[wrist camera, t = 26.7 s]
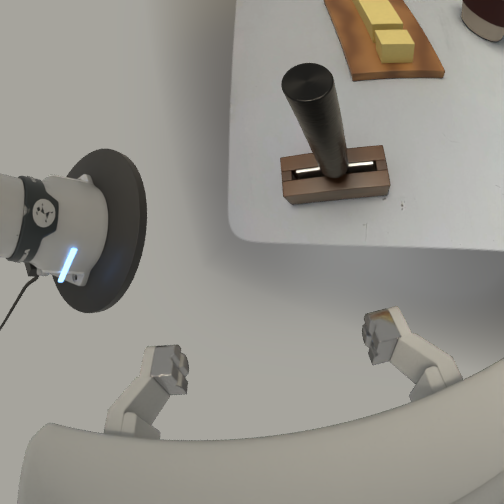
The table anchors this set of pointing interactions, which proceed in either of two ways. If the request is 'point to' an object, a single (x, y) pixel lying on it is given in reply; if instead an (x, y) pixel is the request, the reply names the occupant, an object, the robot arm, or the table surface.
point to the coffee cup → (484, 18)
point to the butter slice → (394, 46)
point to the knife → (320, 120)
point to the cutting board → (364, 50)
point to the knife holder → (335, 187)
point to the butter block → (378, 16)
